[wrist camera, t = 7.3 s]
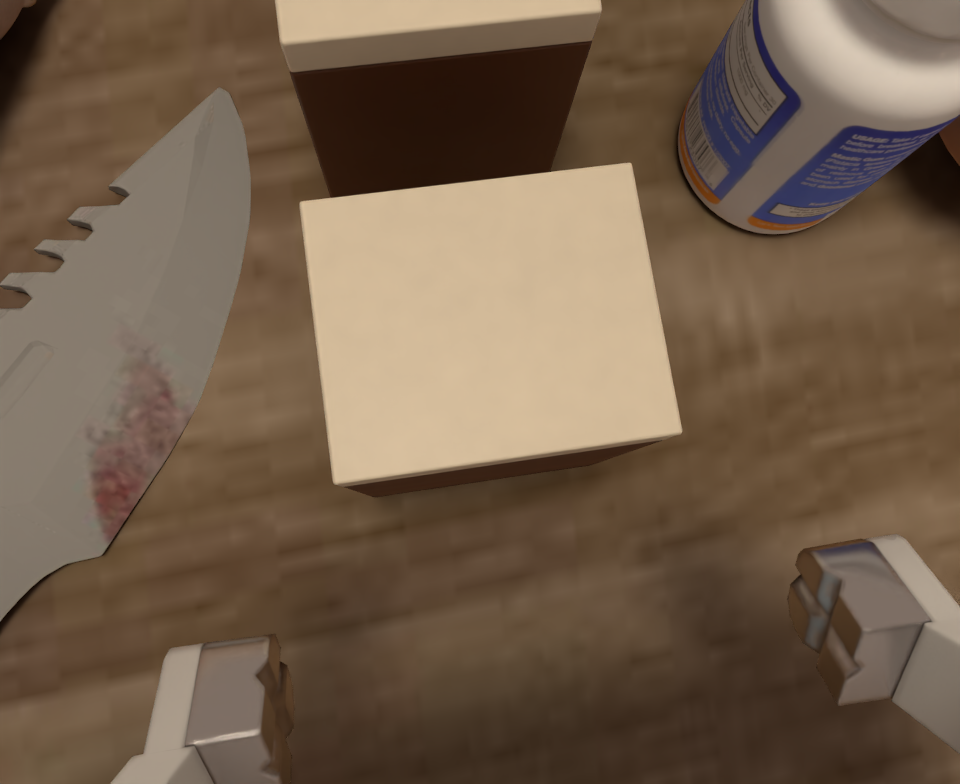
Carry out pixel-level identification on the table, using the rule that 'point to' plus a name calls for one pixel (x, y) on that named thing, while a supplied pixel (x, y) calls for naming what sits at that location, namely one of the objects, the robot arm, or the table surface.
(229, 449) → the table surface
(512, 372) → the cake slice
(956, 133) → the egg
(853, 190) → the pill bottle
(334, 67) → the brown and cream box
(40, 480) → the knife
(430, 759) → the table surface
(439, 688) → the table surface
